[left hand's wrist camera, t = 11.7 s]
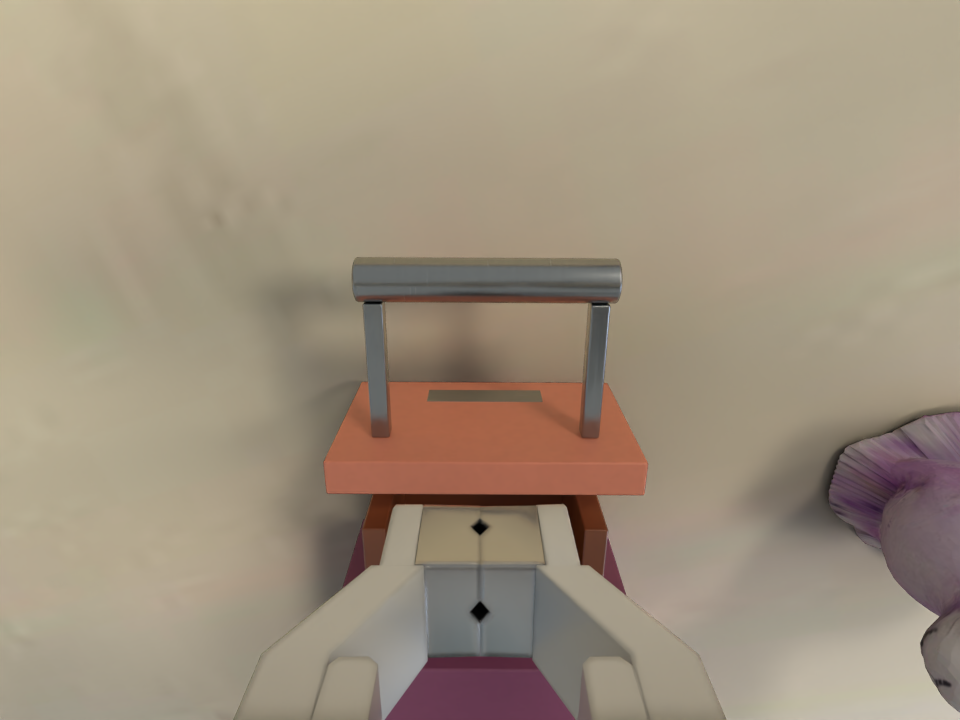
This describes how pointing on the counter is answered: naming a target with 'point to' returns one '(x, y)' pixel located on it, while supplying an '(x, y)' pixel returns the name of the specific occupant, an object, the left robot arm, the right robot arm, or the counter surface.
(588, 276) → the drawer
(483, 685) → the cabinet
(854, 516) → the figurine
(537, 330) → the counter surface
